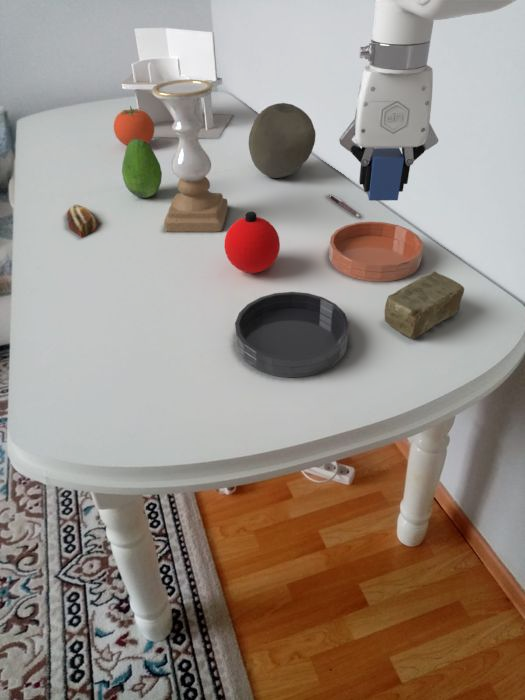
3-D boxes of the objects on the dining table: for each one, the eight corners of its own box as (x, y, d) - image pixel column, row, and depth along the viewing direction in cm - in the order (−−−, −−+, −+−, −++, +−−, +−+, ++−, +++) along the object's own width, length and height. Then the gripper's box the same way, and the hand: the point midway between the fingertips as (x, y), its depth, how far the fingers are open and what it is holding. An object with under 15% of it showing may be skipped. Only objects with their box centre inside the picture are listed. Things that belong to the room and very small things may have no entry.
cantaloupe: (266, 192, 111) (264, 118, 101) (241, 170, 121) (237, 101, 111) (324, 180, 115) (327, 108, 106) (295, 160, 125) (296, 93, 116)
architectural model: (118, 136, 143) (99, 39, 128) (142, 114, 159) (127, 25, 144) (218, 138, 140) (209, 38, 125) (232, 115, 156) (226, 24, 141)
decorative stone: (56, 211, 107) (54, 203, 105) (83, 205, 109) (80, 197, 108) (76, 238, 97) (74, 230, 96) (105, 231, 99) (103, 222, 98)
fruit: (156, 204, 108) (146, 146, 100) (121, 202, 109) (108, 144, 102) (170, 189, 114) (161, 133, 106) (136, 187, 115) (125, 131, 107)
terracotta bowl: (438, 257, 88) (441, 241, 86) (382, 292, 80) (385, 276, 78) (367, 228, 97) (368, 213, 95) (311, 258, 89) (311, 242, 87)
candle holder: (228, 207, 106) (218, 77, 91) (221, 231, 97) (209, 94, 82) (175, 207, 107) (157, 79, 91) (164, 231, 98) (142, 95, 83)
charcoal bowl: (369, 340, 71) (372, 323, 69) (291, 395, 64) (291, 377, 62) (291, 296, 80) (291, 280, 78) (214, 340, 72) (212, 323, 70)
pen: (327, 197, 108) (327, 193, 108) (330, 196, 109) (331, 192, 108) (357, 218, 100) (358, 213, 100) (361, 217, 101) (361, 213, 100)
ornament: (290, 265, 87) (291, 209, 81) (257, 289, 82) (255, 231, 76) (249, 250, 92) (246, 196, 85) (215, 272, 86) (209, 216, 80)
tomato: (111, 146, 137) (102, 105, 131) (146, 137, 142) (139, 98, 135) (128, 156, 131) (119, 114, 124) (164, 147, 135) (157, 106, 129)
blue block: (393, 188, 83) (399, 147, 79) (397, 200, 80) (404, 158, 75) (365, 189, 83) (370, 148, 79) (368, 200, 80) (373, 158, 76)
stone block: (379, 324, 74) (383, 295, 71) (429, 295, 79) (435, 266, 76) (412, 344, 70) (418, 314, 67) (462, 311, 76) (470, 282, 73)
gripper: (337, 63, 67) (329, 199, 78) (470, 60, 66) (442, 198, 77) (333, 51, 72) (326, 179, 84) (456, 48, 71) (432, 178, 83)
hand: (382, 187), depth 81 cm, fingers closed on blue block, 4 cm apart
